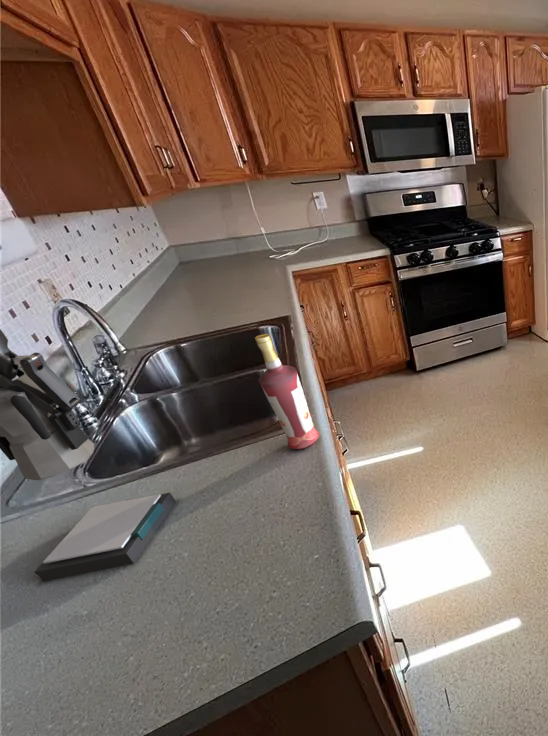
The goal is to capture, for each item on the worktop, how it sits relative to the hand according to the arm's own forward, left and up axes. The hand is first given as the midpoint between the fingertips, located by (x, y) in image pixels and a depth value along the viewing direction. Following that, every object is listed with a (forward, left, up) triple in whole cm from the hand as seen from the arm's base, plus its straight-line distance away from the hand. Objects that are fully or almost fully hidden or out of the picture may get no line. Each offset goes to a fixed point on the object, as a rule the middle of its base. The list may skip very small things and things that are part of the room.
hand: (50, 449), depth 70 cm
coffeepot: (0, 0, -4) cm, 4 cm away
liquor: (+32, +16, -20) cm, 41 cm away
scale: (+3, -3, -19) cm, 20 cm away
